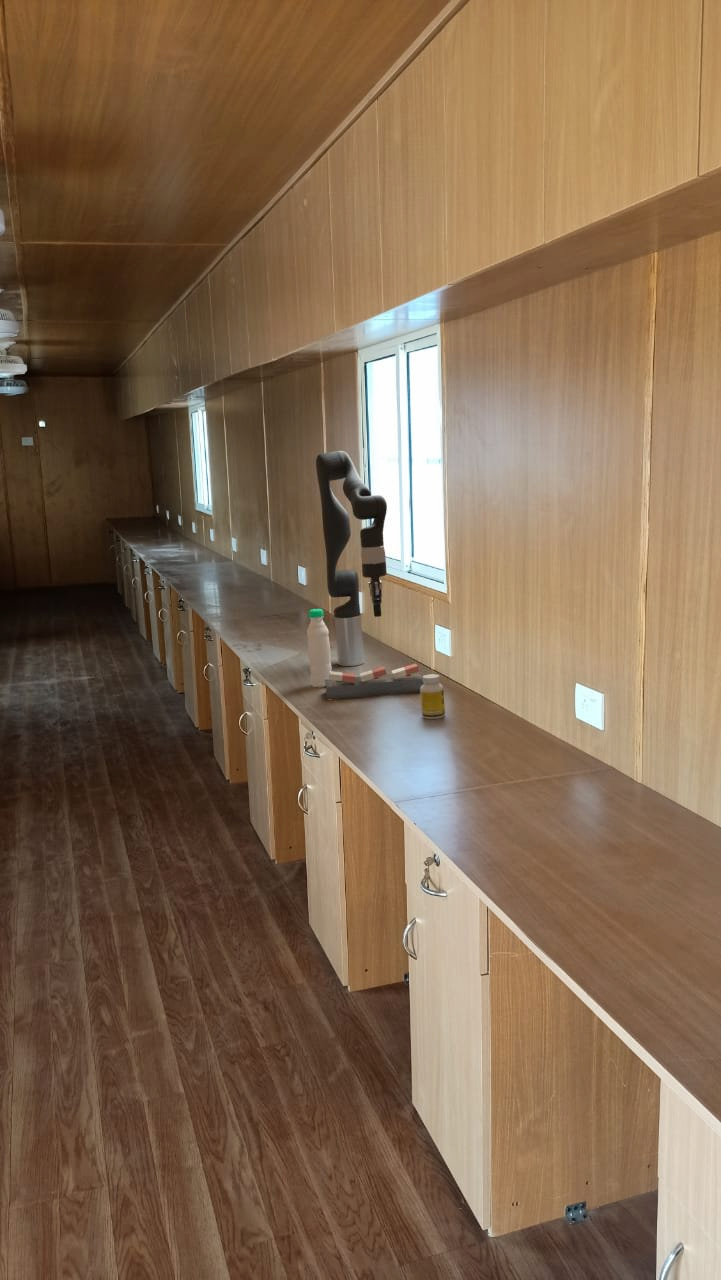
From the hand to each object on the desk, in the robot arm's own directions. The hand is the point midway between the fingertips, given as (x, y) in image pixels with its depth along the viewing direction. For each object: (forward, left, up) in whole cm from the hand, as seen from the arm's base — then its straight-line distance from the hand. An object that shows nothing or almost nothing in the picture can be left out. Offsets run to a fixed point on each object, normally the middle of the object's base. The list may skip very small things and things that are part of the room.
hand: (377, 616), depth 307 cm
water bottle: (-10, -19, -23) cm, 32 cm away
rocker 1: (+6, -13, -18) cm, 23 cm away
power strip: (+4, -3, -23) cm, 24 cm away
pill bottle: (+38, +11, -23) cm, 46 cm away
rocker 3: (+6, +7, -18) cm, 20 cm away
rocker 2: (+6, -3, -18) cm, 19 cm away
